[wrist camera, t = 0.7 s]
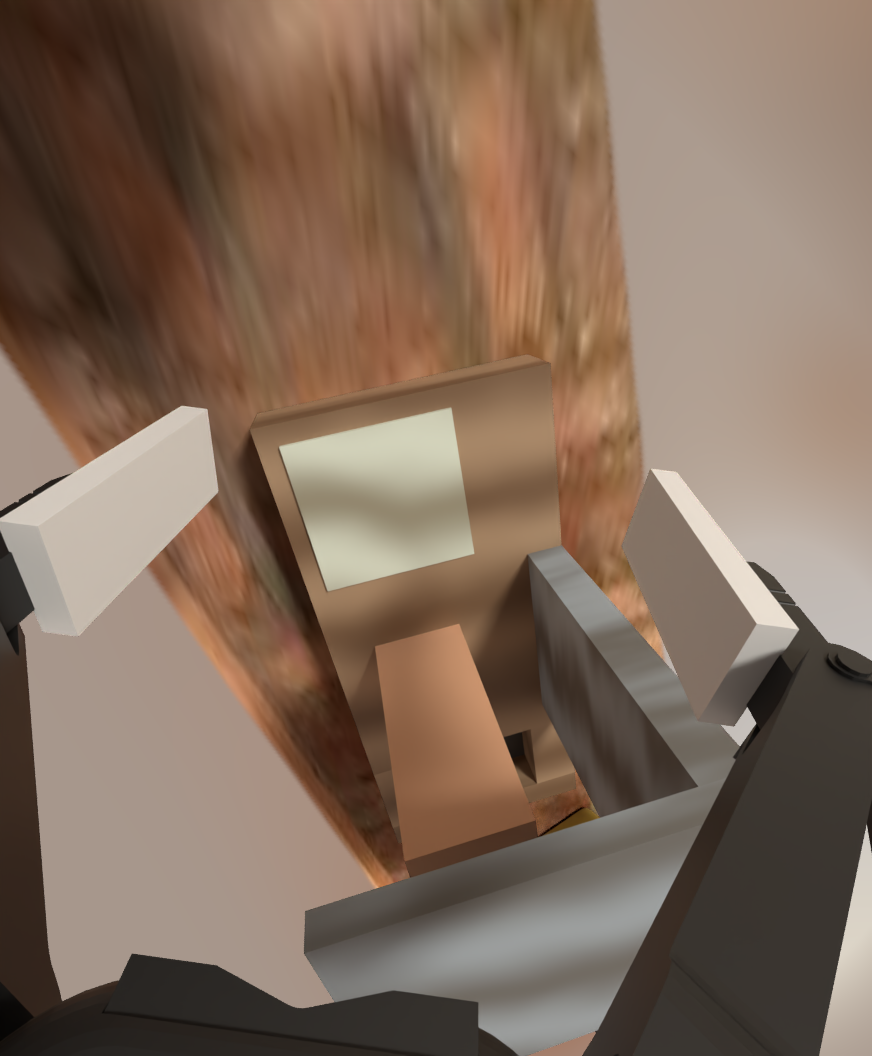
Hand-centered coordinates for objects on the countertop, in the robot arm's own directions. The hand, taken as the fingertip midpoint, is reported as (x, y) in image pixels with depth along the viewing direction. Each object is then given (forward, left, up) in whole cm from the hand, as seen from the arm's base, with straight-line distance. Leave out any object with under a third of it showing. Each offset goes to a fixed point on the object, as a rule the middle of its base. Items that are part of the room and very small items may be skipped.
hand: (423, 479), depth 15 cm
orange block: (+15, -1, -9) cm, 18 cm away
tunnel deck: (+15, +1, -12) cm, 19 cm away
